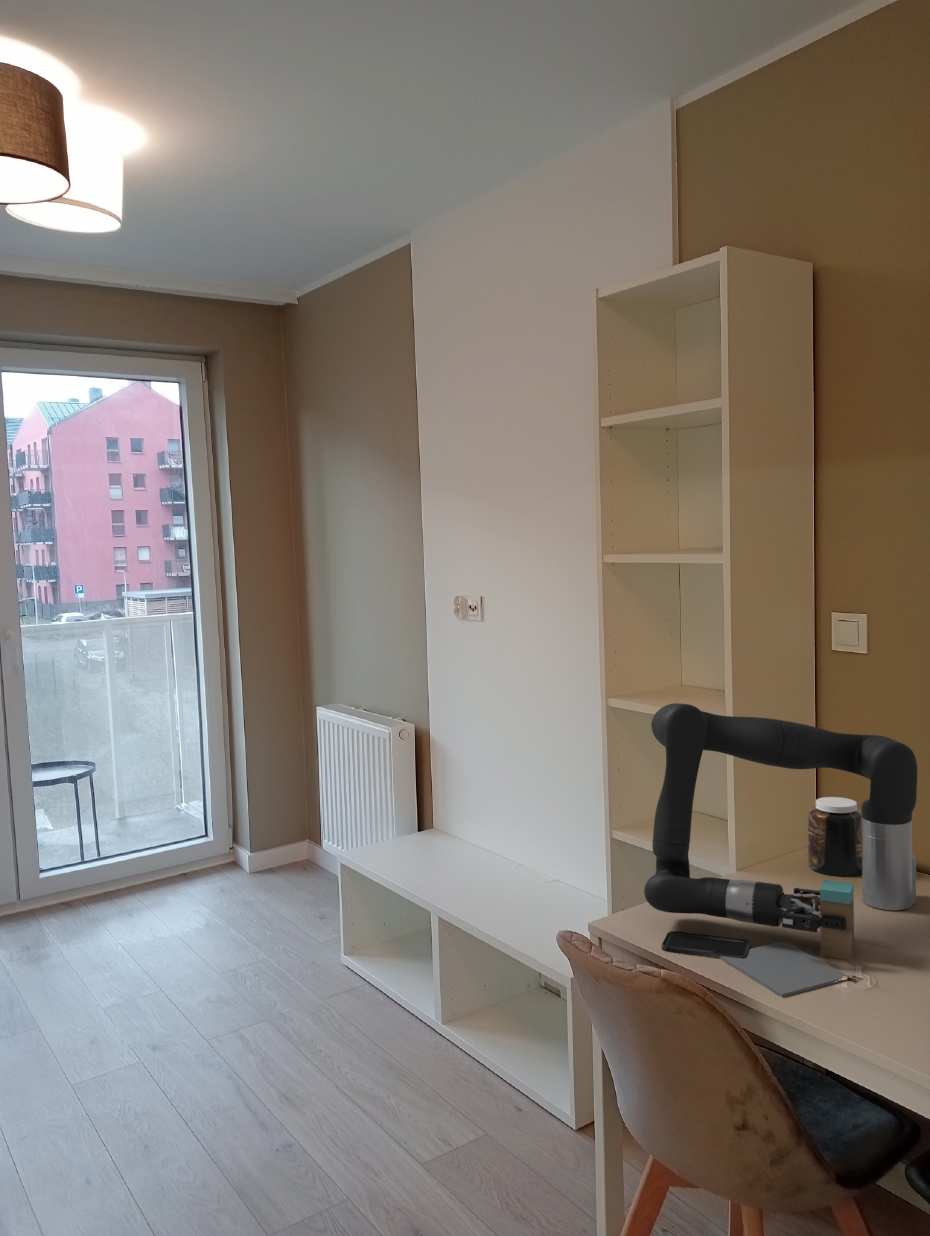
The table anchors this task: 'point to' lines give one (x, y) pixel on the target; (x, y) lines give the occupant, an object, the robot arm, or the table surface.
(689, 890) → the robot arm
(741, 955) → the phone
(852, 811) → the jar
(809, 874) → the table surface
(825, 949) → the walnut block
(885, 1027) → the table surface
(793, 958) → the grey mat
